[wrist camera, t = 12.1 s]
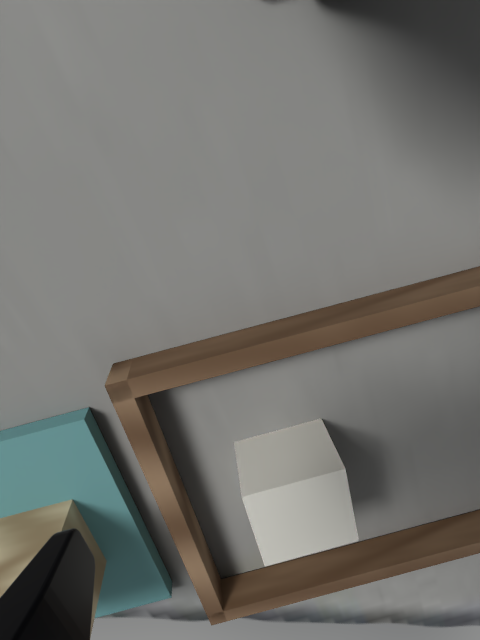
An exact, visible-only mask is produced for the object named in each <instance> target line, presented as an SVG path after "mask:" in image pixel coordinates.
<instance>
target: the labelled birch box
mask: <svg viewBox="0 0 480 640" xmlns="http://www.w3.org/2000/svg"><path fill="white" fill-rule="evenodd" d="M72 528H76V529H78V530H79V531H80V533H81V534H82V536H83V538H84V540H85V541H86V543H87V545H88V547H89V548H90V550H91V552H92V553H93V556H94V559H95V579H94V592H93V605H92V618H91V631H92V627H93V622H94V618H95V613H96V609H97V604H98V599H99V595H100V590H101V585H102V581H103V576H104V571H105V567H106V562H107V561H106V559H105V557H104V555H103V553H102V552H101V550H100V548H99V546H98V544H97V543H96V541H95V539H94V537H93V535H92V533H91V532H90V530H89V528H88V526H87V524H86V523H85V521H84V519H83V517H82V515H81V513H80V512H79V510H78V508H77V506H76V504H75V503H74V501H73V499H72V500H68V501H64V502H60V503H56V504H53V505H49V506H45V507H41V508H37V509H34V510H30V511H26V512H22V513H18V514H15V515H11V516H7V517H3V518H0V597H1V596H2V595H3V594H4V592H5V591H6V590H7V589H8V588H9V586H10V585H11V584H12V583H13V582H14V580H15V579H16V578H17V577H18V576H19V574H20V573H21V572H22V571H23V570H24V568H25V567H26V566H27V565H28V564H29V562H30V561H31V560H32V559H33V558H34V556H35V555H36V554H37V553H38V552H39V550H40V549H41V548H42V547H43V546H44V544H45V543H46V542H47V541H48V540H49V538H50V537H51V536H52V535H54V534H55V533H57V532H61V531H64V530H68V529H72ZM91 631H90V636H91Z"/></svg>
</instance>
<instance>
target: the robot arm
mask: <svg viewBox="0 0 480 640" xmlns="http://www.w3.org/2000/svg"><path fill="white" fill-rule="evenodd" d="M94 579H95V559H94V556H93V553H92V552H91V550H90V548H89V547H88V545H87V543H86V541H85V540H84V538H83V536H82V534H81V533H80V531H79V530H78V529H76V528H72V529H68V530H64V531H61V532H57V533H55V534H54V535H52V536H51V537H50V538H49V540H48V541H47V542H46V543H45V544H44V546H43V547H42V548H41V549H40V550H39V552H38V553H37V554H36V555H35V556H34V558H33V559H32V560H31V561H30V562H29V564H28V565H27V566H26V567H25V568H24V570H23V571H22V572H21V573H20V574H19V576H18V577H17V578H16V579H15V580H14V582H13V583H12V584H11V585H10V586H9V588H8V589H7V590H6V591H5V592H4V594H3V595H2V596H1V597H0V640H90V631H91V618H92V605H93V592H94Z"/></svg>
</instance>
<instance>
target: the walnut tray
mask: <svg viewBox="0 0 480 640" xmlns="http://www.w3.org/2000/svg"><path fill="white" fill-rule="evenodd" d="M479 306H480V266H479V267H476V268H472V269H468V270H464V271H461V272H457V273H453V274H449V275H446V276H442V277H438V278H434V279H430V280H427V281H423V282H419V283H415V284H412V285H408V286H404V287H400V288H397V289H393V290H389V291H385V292H382V293H378V294H374V295H370V296H366V297H363V298H359V299H355V300H351V301H348V302H344V303H340V304H336V305H333V306H329V307H325V308H321V309H318V310H314V311H310V312H306V313H302V314H299V315H295V316H291V317H287V318H284V319H280V320H276V321H272V322H269V323H265V324H261V325H257V326H254V327H250V328H246V329H242V330H238V331H235V332H231V333H227V334H223V335H220V336H216V337H212V338H208V339H205V340H201V341H197V342H193V343H190V344H186V345H182V346H178V347H174V348H171V349H167V350H163V351H159V352H156V353H152V354H148V355H144V356H141V357H137V358H133V359H129V360H126V361H122V362H118V363H114V364H113V365H112V368H111V370H110V373H109V376H108V378H107V381H106V383H105V388H106V390H107V392H108V394H109V397H110V399H111V401H112V403H113V406H114V408H115V410H116V412H117V414H118V417H119V419H120V421H121V423H122V426H123V428H124V430H125V432H126V435H127V437H128V439H129V441H130V444H131V446H132V448H133V450H134V453H135V455H136V457H137V459H138V462H139V464H140V466H141V468H142V471H143V473H144V475H145V477H146V480H147V482H148V484H149V486H150V489H151V491H152V493H153V495H154V497H155V500H156V502H157V504H158V506H159V509H160V511H161V513H162V515H163V518H164V520H165V522H166V524H167V527H168V529H169V531H170V533H171V536H172V538H173V540H174V542H175V545H176V547H177V549H178V551H179V554H180V556H181V558H182V560H183V563H184V565H185V567H186V569H187V572H188V574H189V576H190V578H191V580H192V583H193V585H194V587H195V589H196V592H197V594H198V596H199V598H200V601H201V603H202V605H203V607H204V610H205V612H206V614H207V616H208V619H209V621H210V623H211V625H214V624H218V623H222V622H226V621H230V620H233V619H237V618H241V617H244V616H248V615H252V614H255V613H259V612H263V611H267V610H270V609H274V608H278V607H281V606H285V605H289V604H293V603H296V602H300V601H304V600H307V599H311V598H315V597H318V596H322V595H326V594H330V593H333V592H337V591H341V590H344V589H348V588H352V587H355V586H359V585H363V584H367V583H370V582H374V581H378V580H381V579H385V578H389V577H393V576H396V575H400V574H404V573H407V572H411V571H415V570H418V569H422V568H426V567H430V566H433V565H437V564H441V563H444V562H448V561H452V560H456V559H459V558H463V557H467V556H470V555H474V554H478V553H480V510H477V511H473V512H469V513H466V514H462V515H458V516H454V517H451V518H447V519H443V520H440V521H436V522H432V523H428V524H425V525H421V526H417V527H414V528H410V529H406V530H402V531H399V532H395V533H391V534H388V535H384V536H380V537H376V538H373V539H369V540H365V541H362V542H358V543H354V544H350V545H347V546H343V547H339V548H336V549H332V550H328V551H324V552H321V553H317V554H313V555H310V556H306V557H302V558H298V559H295V560H291V561H287V562H284V563H280V564H276V565H272V566H269V567H265V568H261V569H258V570H254V571H250V572H246V573H243V574H239V575H235V576H232V577H228V578H224V579H221V578H220V575H219V573H218V570H217V568H216V565H215V563H214V560H213V558H212V555H211V553H210V550H209V548H208V545H207V543H206V540H205V538H204V535H203V533H202V530H201V528H200V525H199V523H198V520H197V518H196V515H195V513H194V510H193V508H192V505H191V503H190V500H189V498H188V495H187V493H186V490H185V488H184V485H183V483H182V480H181V478H180V475H179V473H178V470H177V468H176V465H175V463H174V460H173V458H172V455H171V453H170V450H169V448H168V445H167V443H166V440H165V438H164V435H163V433H162V430H161V428H160V425H159V423H158V420H157V418H156V415H155V413H154V410H153V408H152V405H151V403H150V400H149V398H148V394H152V393H156V392H159V391H163V390H167V389H171V388H174V387H178V386H182V385H186V384H189V383H193V382H197V381H201V380H204V379H208V378H212V377H216V376H219V375H223V374H227V373H231V372H234V371H238V370H242V369H246V368H249V367H253V366H257V365H261V364H264V363H268V362H272V361H276V360H279V359H283V358H287V357H291V356H295V355H298V354H302V353H306V352H310V351H313V350H317V349H321V348H325V347H328V346H332V345H336V344H340V343H343V342H347V341H351V340H355V339H358V338H362V337H366V336H370V335H373V334H377V333H381V332H385V331H388V330H392V329H396V328H400V327H403V326H407V325H411V324H415V323H418V322H422V321H426V320H430V319H433V318H437V317H441V316H445V315H448V314H452V313H456V312H460V311H464V310H467V309H471V308H475V307H479Z"/></svg>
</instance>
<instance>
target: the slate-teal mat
mask: <svg viewBox="0 0 480 640" xmlns="http://www.w3.org/2000/svg"><path fill="white" fill-rule="evenodd" d="M72 499H73V501H74V503H75V504H76V506H77V508H78V510H79V512H80V513H81V515H82V517H83V519H84V521H85V523H86V524H87V526H88V528H89V530H90V532H91V533H92V535H93V537H94V539H95V541H96V543H97V544H98V546H99V548H100V550H101V552H102V553H103V555H104V557H105V559H106V561H107V562H106V567H105V571H104V576H103V581H102V585H101V590H100V595H99V599H98V604H97V609H96V613H95V618H97V617H101V616H104V615H108V614H112V613H115V612H119V611H123V610H127V609H130V608H134V607H138V606H141V605H145V604H149V603H153V602H156V601H160V600H164V599H167V598H171V594H172V580H171V578H170V576H169V574H168V572H167V570H166V568H165V566H164V564H163V561H162V559H161V557H160V555H159V553H158V551H157V549H156V547H155V545H154V543H153V540H152V538H151V536H150V534H149V532H148V530H147V528H146V526H145V524H144V522H143V520H142V517H141V515H140V513H139V511H138V509H137V507H136V505H135V503H134V501H133V499H132V496H131V494H130V492H129V490H128V488H127V486H126V484H125V482H124V480H123V478H122V475H121V473H120V471H119V469H118V467H117V465H116V463H115V461H114V459H113V457H112V455H111V452H110V450H109V448H108V446H107V444H106V442H105V440H104V438H103V436H102V434H101V431H100V429H99V427H98V425H97V423H96V421H95V419H94V417H93V415H92V413H91V410H90V408H85V409H81V410H77V411H74V412H70V413H66V414H62V415H58V416H55V417H51V418H47V419H43V420H40V421H36V422H32V423H28V424H25V425H21V426H17V427H13V428H10V429H6V430H2V431H0V518H3V517H7V516H11V515H15V514H18V513H22V512H26V511H30V510H34V509H37V508H41V507H45V506H49V505H53V504H56V503H60V502H64V501H68V500H72Z"/></svg>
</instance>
